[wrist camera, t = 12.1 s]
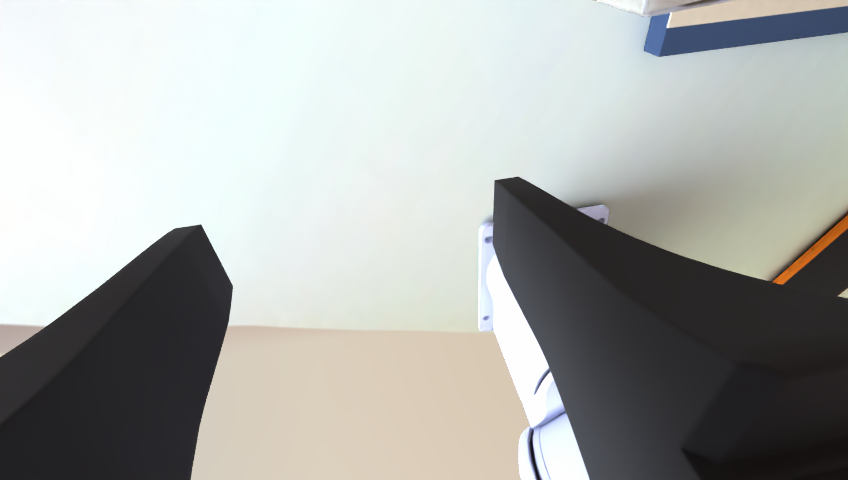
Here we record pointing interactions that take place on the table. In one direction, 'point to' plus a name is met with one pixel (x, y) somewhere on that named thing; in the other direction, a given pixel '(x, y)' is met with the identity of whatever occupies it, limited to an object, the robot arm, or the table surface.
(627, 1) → the box
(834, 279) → the smartphone
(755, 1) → the towel
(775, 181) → the table surface
